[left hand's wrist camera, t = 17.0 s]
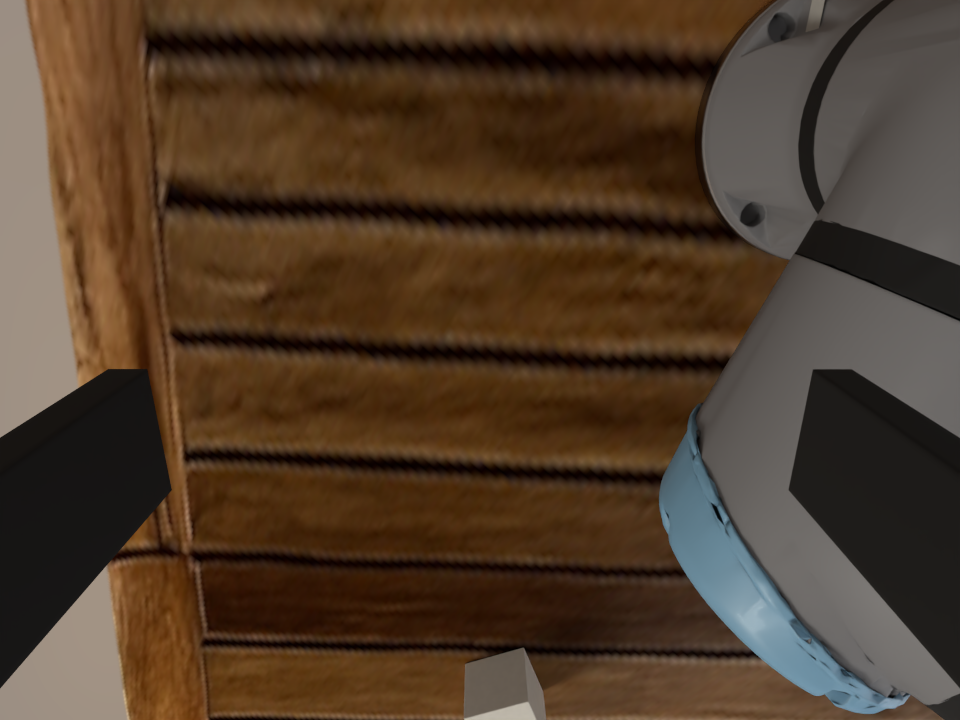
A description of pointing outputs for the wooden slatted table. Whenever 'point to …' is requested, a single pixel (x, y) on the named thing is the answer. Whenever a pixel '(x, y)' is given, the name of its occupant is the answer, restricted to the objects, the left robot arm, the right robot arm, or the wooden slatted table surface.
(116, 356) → the wooden slatted table surface
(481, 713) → the white cube
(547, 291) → the wooden slatted table surface
